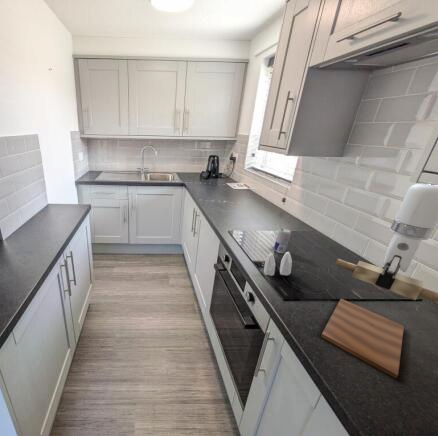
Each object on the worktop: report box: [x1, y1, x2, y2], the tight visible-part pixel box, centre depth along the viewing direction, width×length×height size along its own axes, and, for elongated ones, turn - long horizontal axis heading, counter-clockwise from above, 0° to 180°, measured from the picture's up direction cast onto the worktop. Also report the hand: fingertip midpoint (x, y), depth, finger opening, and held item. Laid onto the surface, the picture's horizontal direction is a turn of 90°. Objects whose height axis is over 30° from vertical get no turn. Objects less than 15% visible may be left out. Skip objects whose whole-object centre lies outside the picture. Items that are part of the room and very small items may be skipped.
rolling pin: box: [335, 258, 438, 303], centre depth 70 cm, size 24×4×4 cm, turn 41°
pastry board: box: [320, 298, 405, 379], centre depth 70 cm, size 24×16×2 cm, turn 131°
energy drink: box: [273, 227, 292, 254], centre depth 115 cm, size 5×5×12 cm
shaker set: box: [263, 251, 293, 277], centre depth 97 cm, size 12×4×11 cm, turn 89°
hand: (383, 283), depth 70 cm, fingers closed on rolling pin, 4 cm apart
